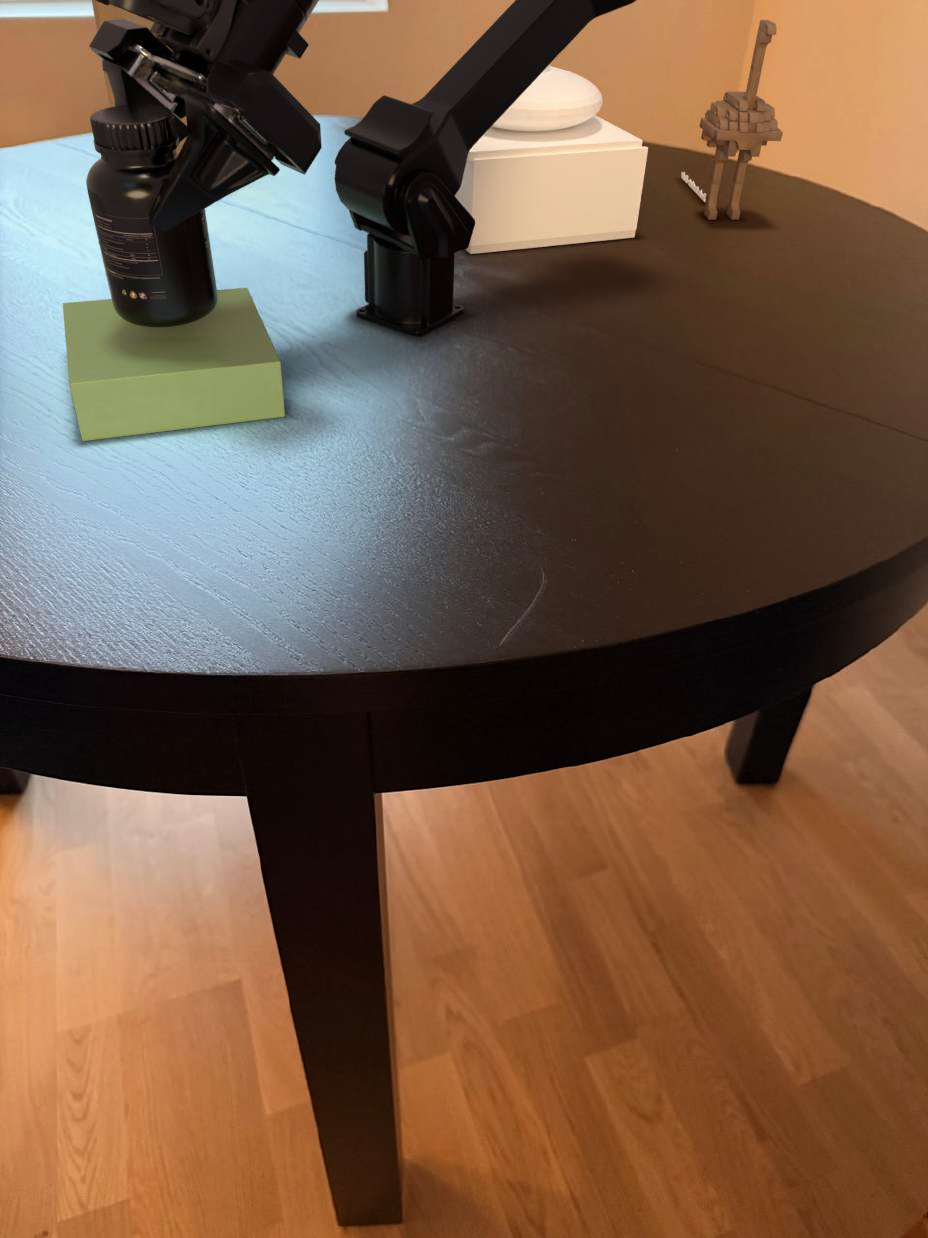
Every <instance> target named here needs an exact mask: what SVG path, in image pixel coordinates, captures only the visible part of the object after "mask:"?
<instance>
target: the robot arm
mask: <svg viewBox="0 0 928 1238" xmlns="http://www.w3.org/2000/svg"><path fill="white" fill-rule="evenodd" d="M95 1H98V2H100V3H102V4H104V5H109V4H110V5H113V6H115V7H118V8H121V9H123V10H126V11H128V12H130V13H133V14H135V15H137V16H140V17H142V18H145V19H148V20H150V21H152V22H154V24H153V26H152V27H151V29H150V30H149V29H148V28H147V27H144V26H141V25H139V24H136V23H133V22H130V21H127V20H125V19H118V20H107V21H104V22H103V24H102V25H101V27H100V29H99V30H98V32H97V31H96V33H95V36H93V39H92V40H91V42H90V43H89V45H88V47H89V48H90V49H91V51H92V52H93V53H94V54H95V55H96V56H98V57H99V58H100V59H101V67H102V68H101V69H102V71H103V73H104V72H105V73H106V74H107V75H108V78H109V81H110V85H111V88H112V92H113V95H114V99H115V106H119V105H131V104H146V105H157V106H162V107H165V108H168V109H170V110H171V111H172V113H173V116H174V122H175V129H176V134H177V135H178V138H179V143H180V142H181V141H182V140H183V139H185V138H186V137H187V138H186V140H185V142H184V144H183V146H182V148H181V150H180V153H179V155H178V157H177V159H176V161H175V163H174V165H173V167H172V169H171V171H170V173H169V175H168V177H167V179H166V182H165V184H164V186H163V188H162V190H161V192H160V194H159V196H158V198H157V201H156V203H155V206H154V208H153V211H152V213H151V216H150V219H149V221H150V223H151V224H152V225H153V226H155V227H156V228H157V229H159V230H160V231H162V232H166V231H168V230H170V229H171V228H173V227H175V226H177V225H178V224H180V223H182V222H183V221H185V220H187V219H188V218H190V217H192V216H193V215H195V214H197V213H198V212H200V211H202V210H203V209H205V210H206V209H207V208H208V207H210V206H212V205H213V204H215V203H218V202H219V201H220V200H222V199H224V198H225V197H228V196H230V195H231V194H233V193H235V192H237V191H239V190H241V189H243V188H244V187H246V186H249V185H251V184H252V183H255V182H256V181H258V180H260V179H262V178H265V177H267V176H272V177H275V176H277V174H278V173H280V168H279V166H277V164H275V163H274V162H273V160H274V159H275V160H276V161H277V162H278V163H279V164H280V165H281V166H284V167H286V168H288V169H291V170H293V171H295V172H297V173H300V174H302V175H306V174H307V172H308V170H309V169H310V167H311V166H312V164H313V162H314V161H315V159H316V158H317V156H318V154H319V153H320V151H321V150H322V146H323V145H322V132H321V129H322V128H321V123H320V122H319V121H318V120H317V119H316V118H315V117H314V116H313V115H312V114H311V113H310V112H309V111H308V109H306V108H305V106H304V105H302V103H301V102H300V101H299V100H298V99H297V98H296V97H295V96H294V95H293V94H292V93H291V92H290V91H289V90H288V89H287V88H286V87H285V86H284V84H283V83H281V81H280V80H279V79H278V78H277V77H276V76H275V75H274V74H275V72H276V71H277V69H278V67H279V66H280V64H281V63H282V61H283V60H284V58H285V56H286V55H287V56H290V57H293V58H296V59H299V60H301V58H302V57H303V55H304V54H305V52H306V50H307V49H308V47H309V45H310V44H309V43H308V41H306V40H305V38H304V37H303V36H302V35H301V33H300V32H301V30H302V29H303V27H304V26H305V24H306V22H307V21H308V19H309V18H310V16H311V15H312V13H313V11H314V9H315V8H316V6H317V4H318V3H319V1H320V0H95ZM635 2H637V0H514V1H513V2H512V3H511V4H510V6H508V7H507V8H506V9H505V11H504V12H503V13H502V14H501V15H500V16H499V17H498V18H497V19H496V20H494V22H493V23H492V24H491V25H490V26H489V28H488V29H487V30H486V31H484V33H483V34H481V36H480V37H479V38H478V39H477V40H476V41H475V42H474V43H473V44H472V45H471V47H470V48H469V49H467V51H466V52H465V53H463V55H462V56H461V57H460V58H458V60H457V61H456V62H455V63H454V64H453V65H452V67H450V69H449V70H448V71H447V72H446V73H445V74H444V75H443V76H442V77H441V78H440V79H439V80H438V81H437V82H436V84H434V85H433V86H432V87H431V89H429V91H427V93H425V95H424V96H423V97H421V98H420V99H419V100H417V101H415V102H412V103H409V102H406V101H403V100H400V99H397V98H394V97H391V96H388V95H386V94H384V95H382V96H381V97H379V98H378V99H377V100H376V101H374V103H372V105H371V106H370V108H369V110H368V111H367V112H366V114H365V115H364V116H363V118H362V119H361V120H360V121H358V122H357V123H356V124H355V125H353V126H351V127H349V128H346V129H345V130H344V135H345V136H346V137H349V138H348V139H346V141H345V142H344V143H343V145H342V146H341V148H340V149H339V151H337V154H336V157H335V159H334V165H335V170H334V171H335V172H334V185H335V192H336V194H337V196H338V198H339V201H340V202H341V203H342V205H343V206H344V207H345V208H346V209H347V210H348V212H349V215H350V217H351V220H352V224H353V227H354V228H355V229H356V230H357V231H360V232H361V231H363V232H366V233H367V234H366V250H365V251H364V252H363V270H364V271H363V273H364V274H363V275H364V277H363V278H364V301H365V303H367V304H366V305H363V306H362V307H360V308H358V309H356V310H355V316H356V318H358V319H360V320H363V321H367V322H370V323H372V324H376V325H379V326H382V327H385V328H387V329H391V330H394V331H397V332H399V333H403V334H405V335H407V336H408V335H409V336H413V337H415V338H419V337H420V338H421V337H424V336H425V335H427V334H429V333H430V332H433V331H434V330H436V329H438V328H439V327H441V326H444V325H445V324H447V323H449V322H451V321H452V320H455V319H456V318H458V317H460V316H462V315H463V314H465V313H464V312H465V307H464V306H463V305H459V304H456V303H454V288H455V287H454V284H455V257H456V256H455V254H457V253H458V252H460V251H466V250H465V249H467V248H468V247H469V243H470V240H471V237H472V233H473V230H474V226H475V219H474V218H473V217H472V216H471V215H470V213H469V212H468V211H467V210H466V209H465V208H464V206H463V205H462V204H461V203H460V202H459V201H458V199H457V198H456V197H455V195H456V193H457V192H458V191H459V189H460V187H461V184H462V179H463V175H464V170H465V166H466V161H467V157H468V153H469V151H470V150H471V148H472V147H473V146H474V145H475V144H476V143H477V142H478V140H479V139H480V138H481V137H482V136H483V135H484V134H485V133H486V132H487V131H488V130H489V129H490V128H491V127H492V126H493V124H494V123H495V122H496V121H497V120H498V119H499V118H500V117H501V116H502V115H503V114H504V113H505V112H506V111H507V110H508V108H509V107H510V106H511V105H512V104H513V103H514V102H515V101H516V100H517V99H518V98H519V97H520V96H521V95H522V94H523V92H524V91H525V90H526V89H527V88H528V87H529V86H530V85H531V84H532V83H533V82H534V81H535V80H536V79H537V78H538V76H539V75H540V74H541V73H542V72H543V71H544V70H545V69H546V68H547V67H548V66H549V65H550V66H551V64H552V63H553V62H554V61H555V60H556V59H557V57H558V56H560V54H561V53H562V52H563V51H564V50H565V49H566V48H567V47H568V46H569V45H570V43H572V41H573V40H574V39H576V37H577V36H578V35H579V34H580V33H581V32H582V31H583V30H584V29H585V28H586V27H587V25H589V24H590V22H592V21H593V20H595V19H596V18H599V17H601V16H604V15H607V14H609V13H611V12H614V11H616V10H619V9H622V8H624V7H626V6H630V5H631V4H633V3H635ZM167 46H168V47H169V48H170V49H171V50H172V51H173V52H172V51H171V50H170V49H169V48H168V47H167ZM185 116H186V120H187V126H186V125H185V124H184V123H183V122H182V121H181V120H180V119H182V118H184V117H185Z"/></svg>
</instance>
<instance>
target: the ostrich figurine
mask: <svg viewBox="0 0 928 1238" xmlns="http://www.w3.org/2000/svg"><path fill="white" fill-rule="evenodd" d="M776 35H777V24H776V23H775V22H773V21H771V20H769V19H760V20H759V23H758V29H757V34H756V39H755V43H754V48H753V52H752V53H753V54H752V59H751V64H750V70H749V74H748V79H747V84H746V89H745V91H732V90H731V91H726V92H724V95H723V97H722V100H716V102H710V103H711V104H710V109H707V110H706V111H705V113H704V117H701V118H700V122H699V128H700V129H702V131H701V138H700V139H701V140H702V141H703V142H706V146H707V147H708V148H715V153H714V158H713V163H712V169H711V174H710V179H709V185H708V190H707V193H706V192H704V193H703V189H700V186H697V185H696V183H695V181H694V180H693V181H692V179H691V178H689V177H690V176H689V175H687V174H686V171H681V174H680V175H681V177H680V178H681V179H682V180H683V181H684V182H685V183H686V184H687V185H688V187H690V188H691V190H693V192H694V193H695V194H696V195H697V196H698V197H699V198H700V200H702V201H703V202H704V203H705V206H704V211H703V215H704V217H706V219H707V220H709V221H711V220H712V221H713V220H717V216H718V210H717V202H718V201H717V200H718V195H719V191H720V186H721V180H722V176H723V171H724V166H725V163H726V161H728V160H729V157H730V158H732V157H733V158H734V157H736V155H737V153H738V155H737V160H736V165H735V170H734V174H733V180H732V185H731V191H730V196H729V200H728V203H727V204H728V205H727V210H726V216H727V217H729V219H731V220H732V221H733V220H740V216H741V213H742V212H741V209H740V201H741V197H742V191H743V187H744V181H745V178H746V173H747V167H748V163H749V162H751V161H752V159H753V158H760V155H761V148H762V147H763V146H764V147H765V146H767V145H768V142H782V138H783V133H784V132H783V131H782V130H781V129H780V128H779V125H778V124H779V122H778V120H777V119H776V118H775V116H776V109H775V107H773V106H772V105H771V104H769V103H767V102H766V101H765V100H764V99H763V98H761V97H760V96H758V90H759V85H760V81H761V75H762V70H763V64H764V60H765V54H766V50H767V47H768V45H769V44H771V43H772V39H773V36H776Z"/></svg>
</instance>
